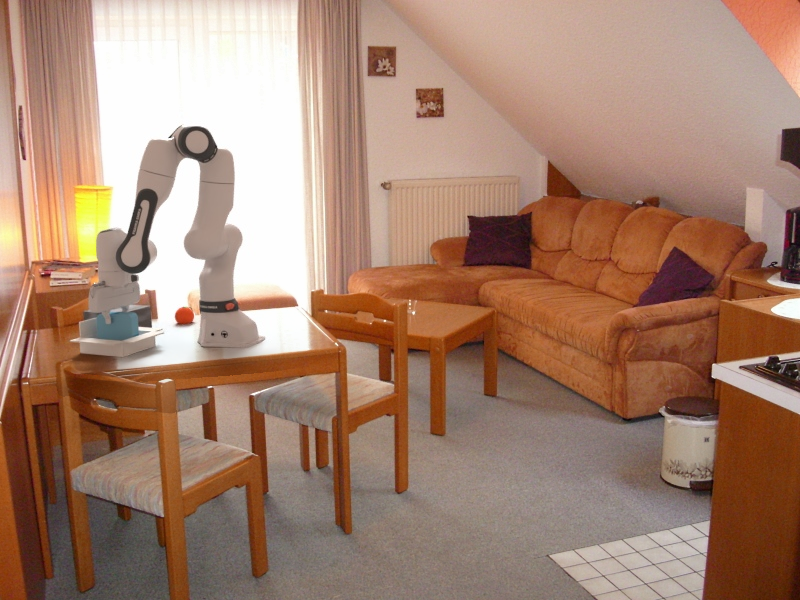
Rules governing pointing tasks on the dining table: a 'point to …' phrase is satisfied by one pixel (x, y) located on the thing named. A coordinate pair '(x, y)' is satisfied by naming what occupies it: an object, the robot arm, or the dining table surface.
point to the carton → (113, 341)
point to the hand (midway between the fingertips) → (116, 321)
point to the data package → (118, 326)
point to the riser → (140, 310)
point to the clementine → (184, 315)
